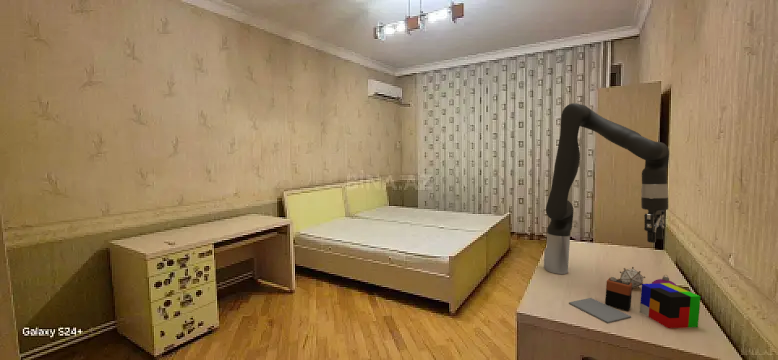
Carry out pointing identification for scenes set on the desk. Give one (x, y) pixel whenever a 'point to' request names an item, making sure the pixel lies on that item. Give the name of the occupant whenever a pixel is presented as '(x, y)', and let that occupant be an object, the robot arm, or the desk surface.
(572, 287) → the desk surface
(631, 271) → the game die
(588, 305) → the mat
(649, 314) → the puzzle toy
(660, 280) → the christmas ornament
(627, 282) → the battery
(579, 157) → the robot arm
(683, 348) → the desk surface
